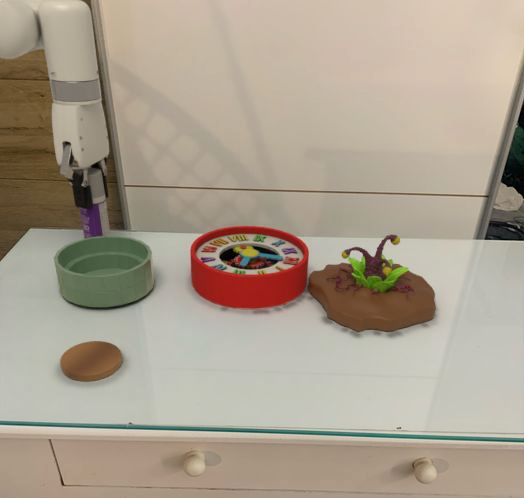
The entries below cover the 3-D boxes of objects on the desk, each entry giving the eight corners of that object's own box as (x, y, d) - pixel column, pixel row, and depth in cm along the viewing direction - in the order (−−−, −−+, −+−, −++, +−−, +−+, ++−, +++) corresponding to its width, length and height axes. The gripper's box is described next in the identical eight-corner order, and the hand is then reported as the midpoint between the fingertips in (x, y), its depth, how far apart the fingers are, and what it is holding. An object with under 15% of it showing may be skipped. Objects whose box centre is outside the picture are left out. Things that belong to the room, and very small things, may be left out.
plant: (456, 323, 87) (474, 258, 81) (341, 338, 83) (351, 271, 76) (397, 267, 103) (408, 209, 97) (298, 277, 98) (302, 217, 92)
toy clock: (211, 220, 103) (317, 233, 100) (211, 249, 107) (314, 263, 103) (172, 266, 87) (297, 284, 84) (174, 299, 91) (294, 317, 87)
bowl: (42, 301, 88) (34, 267, 85) (89, 261, 100) (84, 230, 97) (129, 317, 85) (125, 282, 82) (168, 274, 98) (165, 242, 94)
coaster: (49, 375, 73) (47, 369, 73) (80, 342, 79) (79, 336, 79) (104, 386, 72) (103, 380, 71) (132, 352, 78) (131, 346, 77)
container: (82, 255, 103) (68, 174, 94) (94, 245, 106) (82, 166, 98) (105, 258, 102) (94, 177, 93) (116, 248, 106) (106, 169, 97)
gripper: (82, 80, 96) (96, 185, 106) (23, 98, 82) (46, 216, 93) (122, 84, 94) (132, 189, 105) (69, 103, 81) (87, 222, 91)
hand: (92, 201), depth 98 cm, fingers closed on container, 4 cm apart
